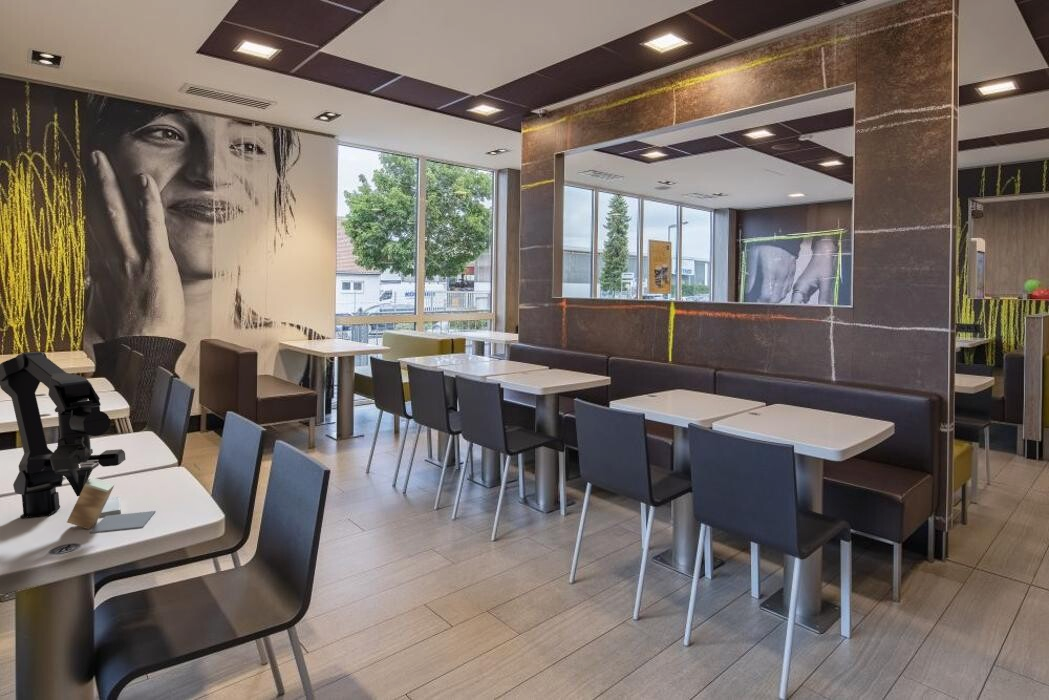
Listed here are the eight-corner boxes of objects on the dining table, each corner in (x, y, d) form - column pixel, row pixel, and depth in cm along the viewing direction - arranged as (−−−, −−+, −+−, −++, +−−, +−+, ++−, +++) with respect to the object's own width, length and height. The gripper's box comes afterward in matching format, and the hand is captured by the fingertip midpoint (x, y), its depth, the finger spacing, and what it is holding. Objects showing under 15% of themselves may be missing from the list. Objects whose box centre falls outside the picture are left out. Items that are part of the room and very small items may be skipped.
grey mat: (89, 533, 145) (89, 531, 145) (105, 516, 156) (105, 515, 156) (143, 527, 148) (143, 526, 148) (155, 511, 159) (155, 510, 159)
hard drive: (120, 509, 158) (119, 496, 168) (81, 516, 154) (82, 502, 164) (121, 515, 158) (120, 502, 169) (81, 522, 154) (83, 508, 164)
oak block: (66, 522, 146) (85, 483, 147) (74, 515, 151) (93, 477, 151) (89, 529, 148) (108, 490, 148) (96, 521, 153) (114, 484, 153)
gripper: (10, 442, 137) (16, 511, 138) (107, 435, 142) (112, 502, 144) (34, 431, 148) (39, 495, 149) (123, 426, 153) (128, 487, 154)
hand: (79, 495), depth 149 cm, fingers closed
